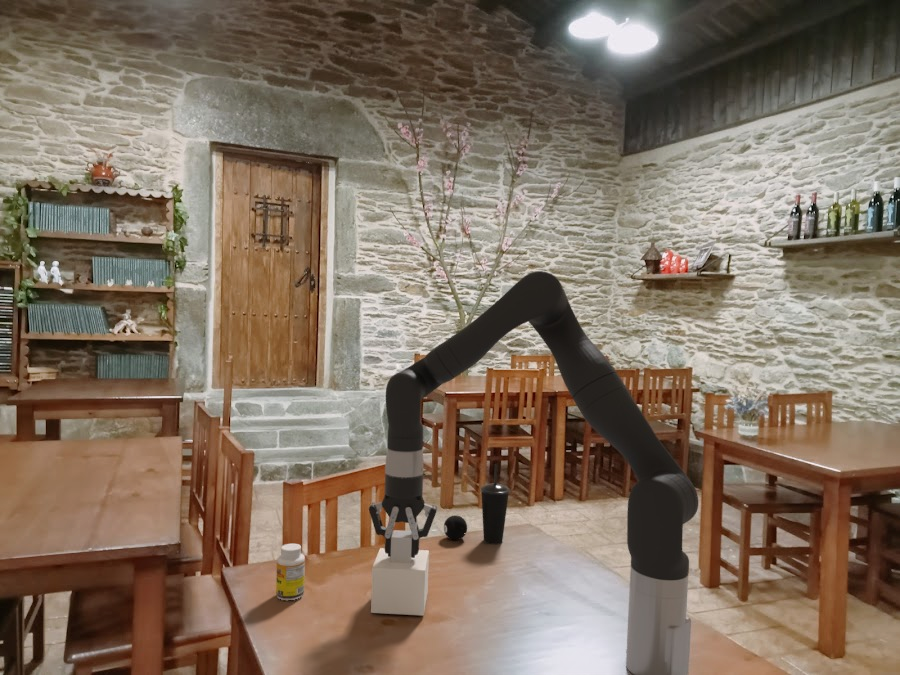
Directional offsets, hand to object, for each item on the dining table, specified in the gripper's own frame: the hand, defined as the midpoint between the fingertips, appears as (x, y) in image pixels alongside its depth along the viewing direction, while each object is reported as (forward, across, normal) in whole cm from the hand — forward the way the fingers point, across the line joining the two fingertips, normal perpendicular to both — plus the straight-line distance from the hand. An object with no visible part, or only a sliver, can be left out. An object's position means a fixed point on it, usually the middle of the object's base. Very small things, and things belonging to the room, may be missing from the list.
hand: (401, 555), depth 127 cm
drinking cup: (+10, -20, -38) cm, 44 cm away
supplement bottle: (+10, +23, -1) cm, 25 cm away
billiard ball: (+10, -10, -38) cm, 41 cm away
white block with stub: (+10, 0, 0) cm, 10 cm away
